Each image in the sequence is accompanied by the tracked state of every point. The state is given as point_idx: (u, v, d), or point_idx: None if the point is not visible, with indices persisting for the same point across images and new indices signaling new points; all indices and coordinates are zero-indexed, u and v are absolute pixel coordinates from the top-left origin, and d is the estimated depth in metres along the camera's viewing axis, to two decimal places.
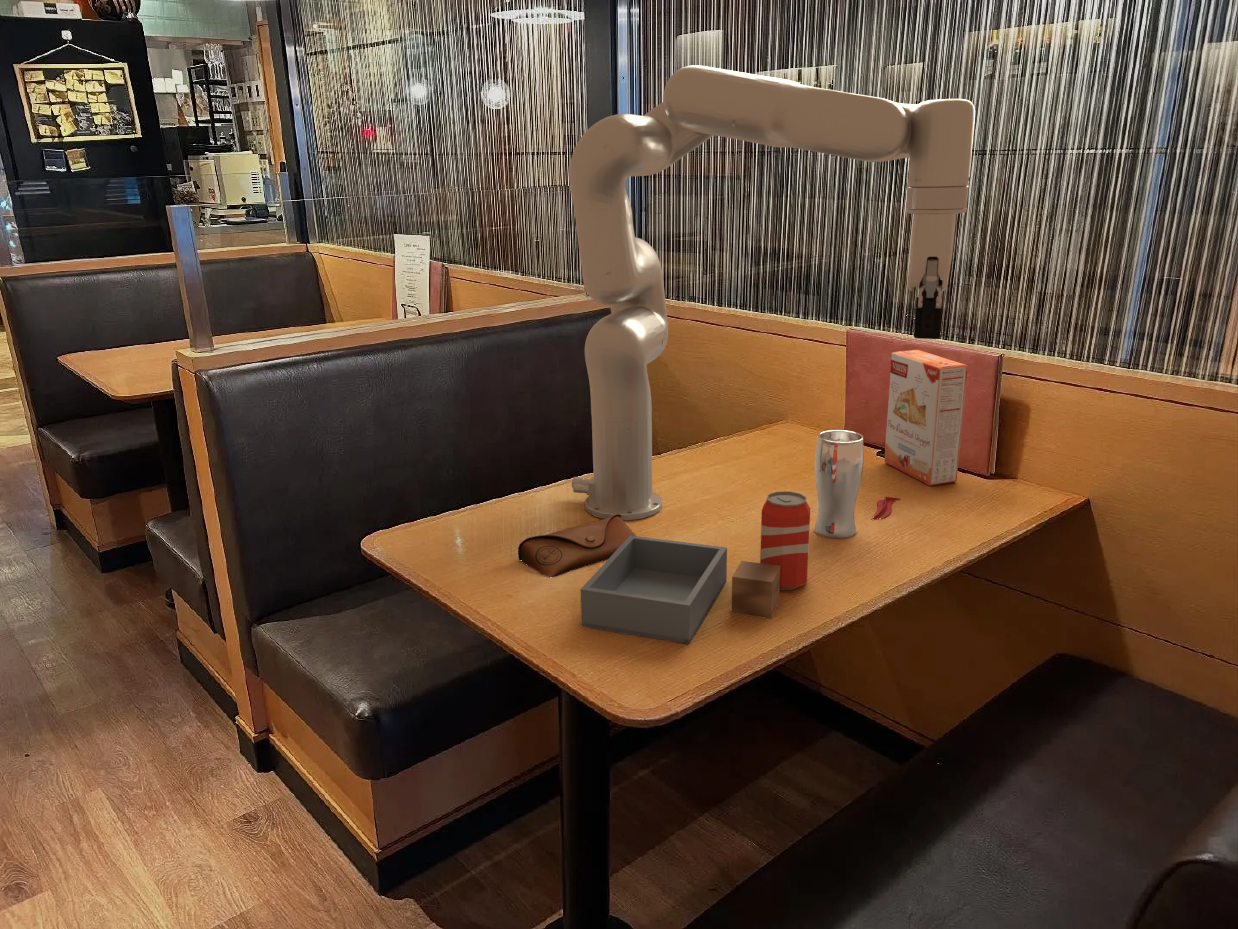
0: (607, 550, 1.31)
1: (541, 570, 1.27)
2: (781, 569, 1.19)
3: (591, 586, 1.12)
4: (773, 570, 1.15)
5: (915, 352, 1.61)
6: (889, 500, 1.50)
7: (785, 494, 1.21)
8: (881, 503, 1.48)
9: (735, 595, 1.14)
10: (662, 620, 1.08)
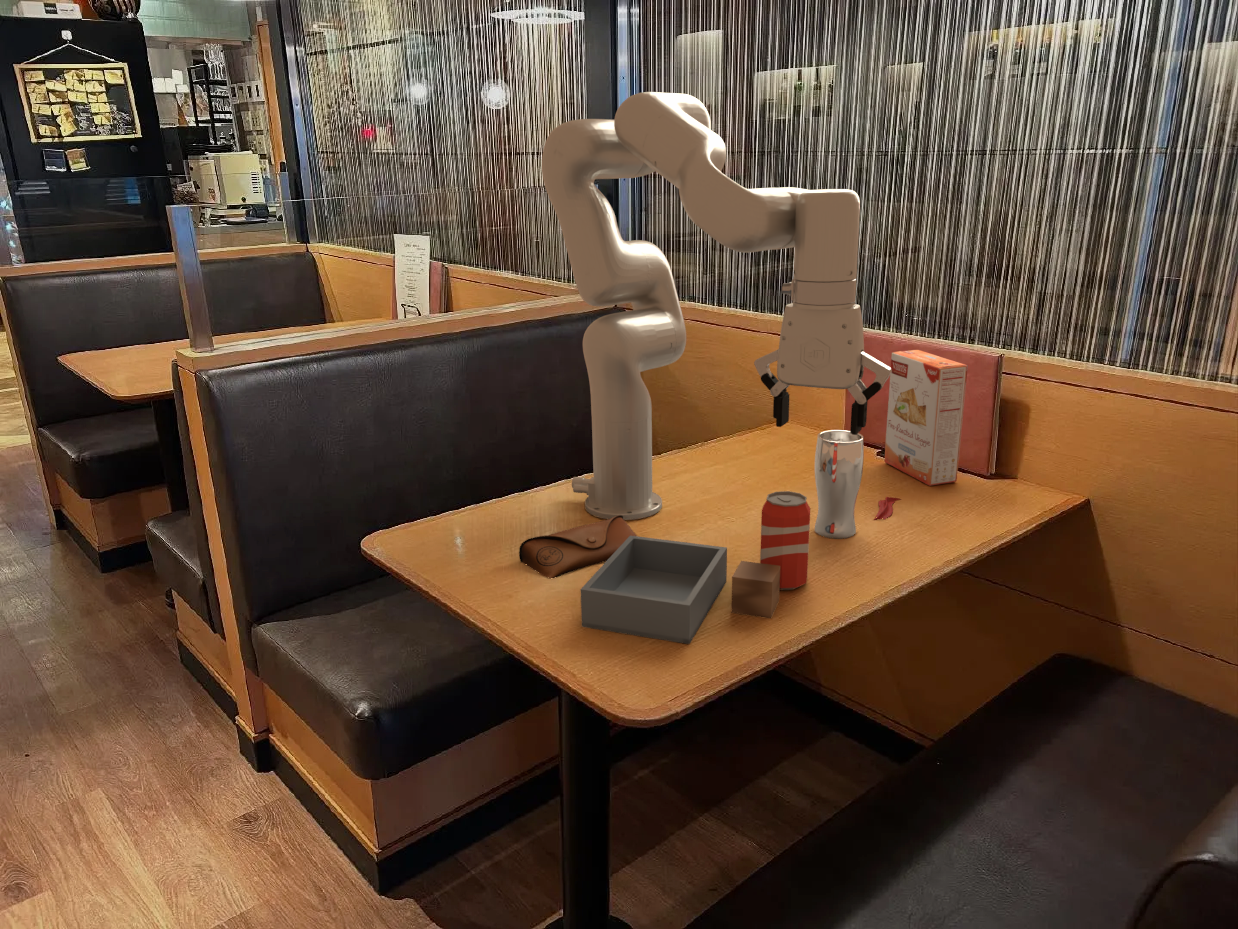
0: (608, 551, 1.30)
1: (542, 571, 1.27)
2: (781, 569, 1.19)
3: (591, 586, 1.12)
4: (773, 570, 1.15)
5: (915, 352, 1.61)
6: (890, 500, 1.50)
7: (785, 494, 1.21)
8: (883, 504, 1.48)
9: (735, 595, 1.14)
10: (662, 620, 1.08)
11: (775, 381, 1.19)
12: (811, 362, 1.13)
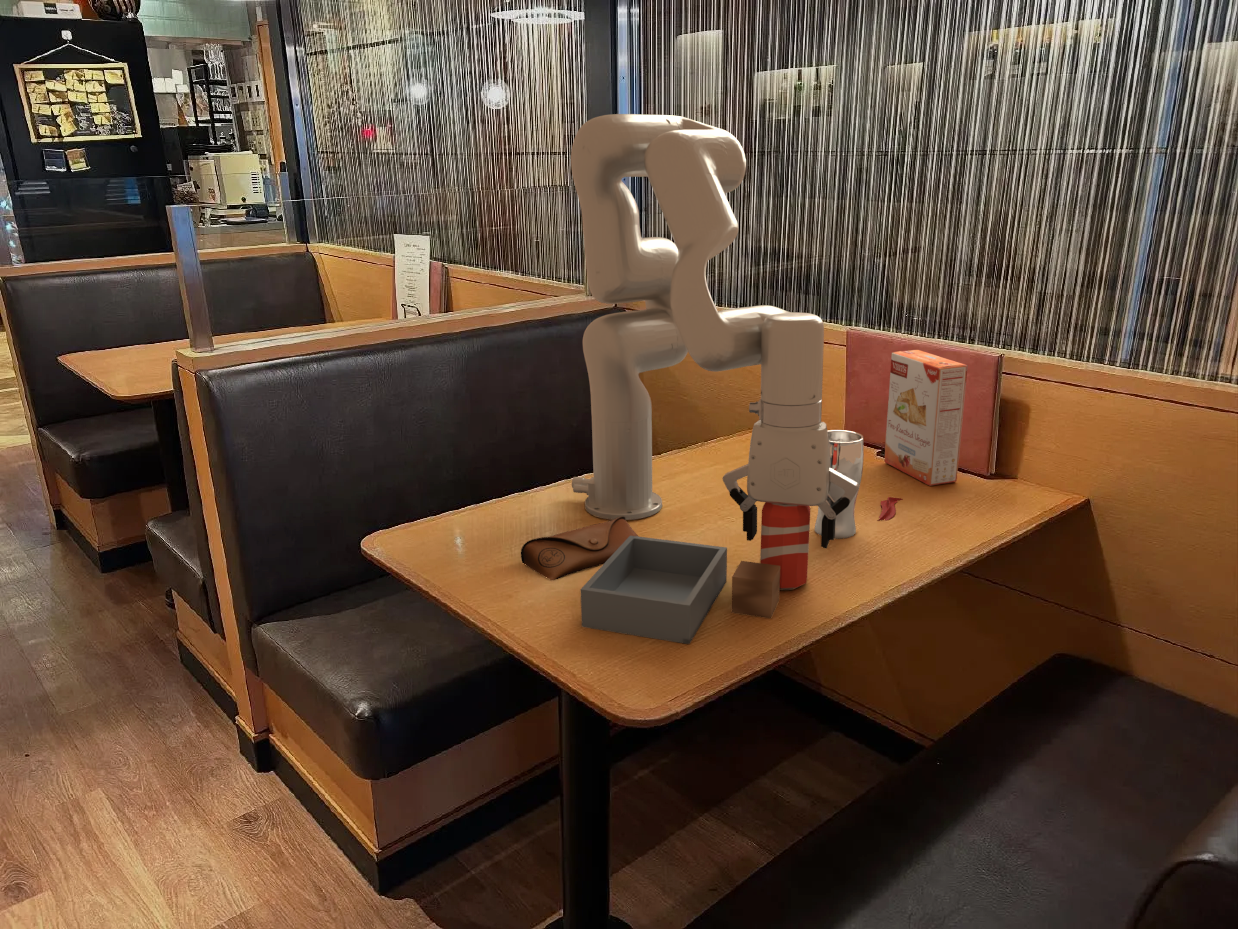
0: (610, 552, 1.30)
1: (543, 572, 1.26)
2: (781, 569, 1.19)
3: (591, 586, 1.12)
4: (773, 570, 1.15)
5: (915, 352, 1.61)
6: (891, 500, 1.50)
7: None
8: (885, 504, 1.48)
9: (735, 595, 1.14)
10: (662, 620, 1.08)
11: (744, 496, 1.20)
12: (781, 480, 1.15)
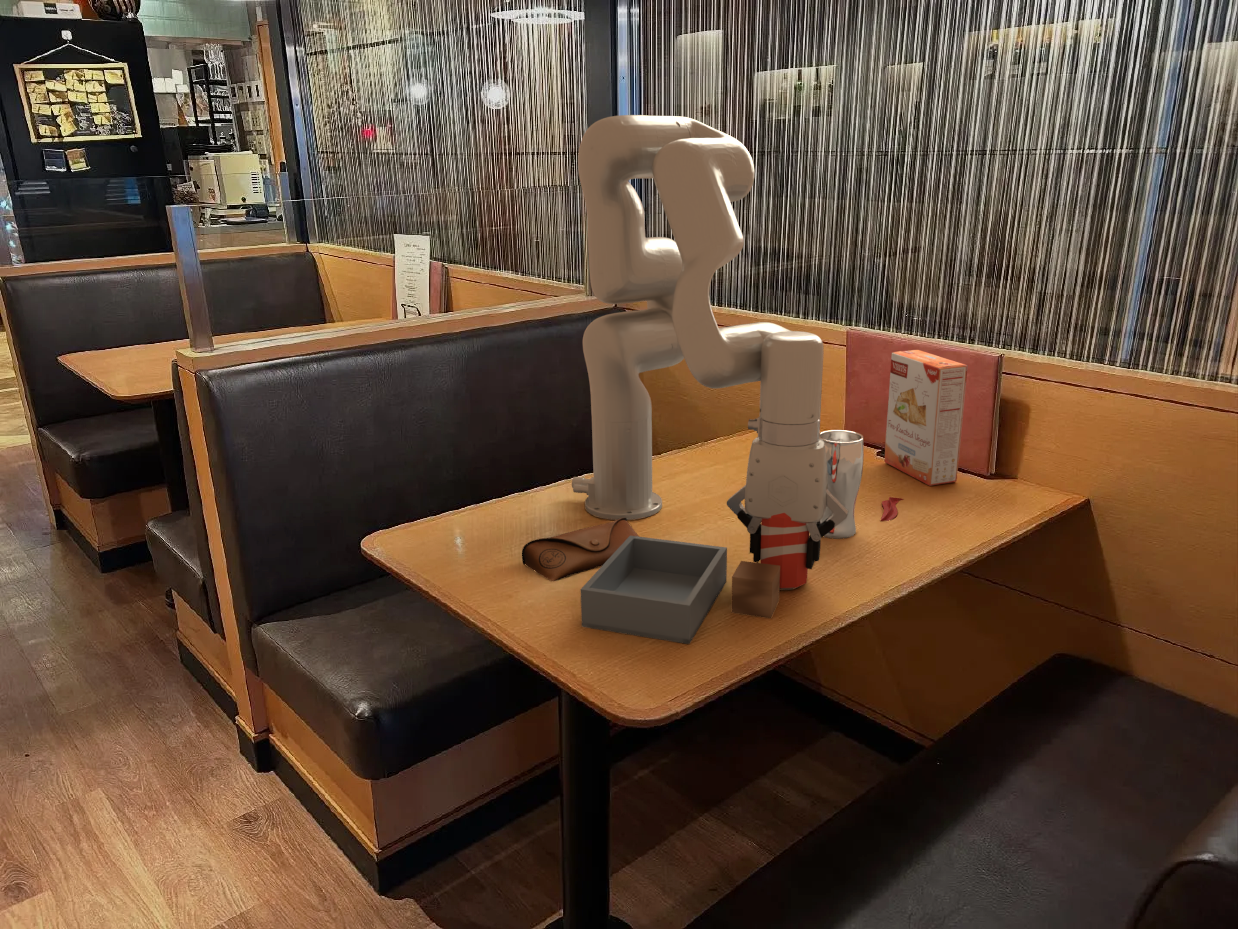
0: (611, 553, 1.30)
1: (544, 573, 1.26)
2: (782, 569, 1.19)
3: (591, 586, 1.12)
4: (773, 570, 1.15)
5: (915, 352, 1.61)
6: (892, 500, 1.50)
7: None
8: (886, 504, 1.48)
9: (735, 595, 1.14)
10: (662, 620, 1.08)
11: (751, 518, 1.21)
12: (779, 497, 1.16)
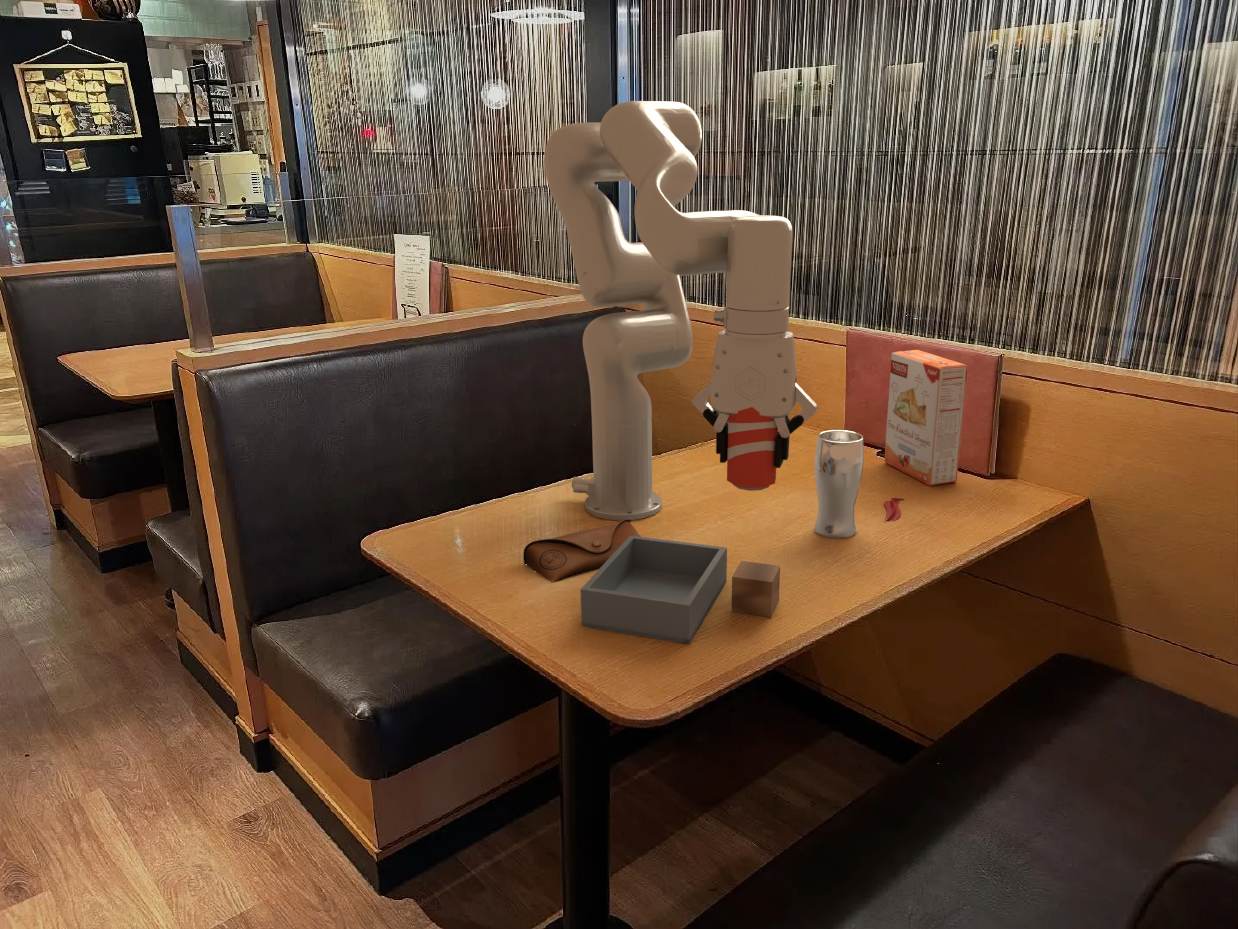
0: None
1: (544, 575, 1.26)
2: (749, 467, 1.14)
3: (591, 586, 1.12)
4: (773, 570, 1.15)
5: (915, 352, 1.61)
6: (894, 501, 1.50)
7: None
8: (889, 505, 1.48)
9: (735, 595, 1.14)
10: (662, 620, 1.08)
11: (717, 416, 1.16)
12: (746, 391, 1.12)
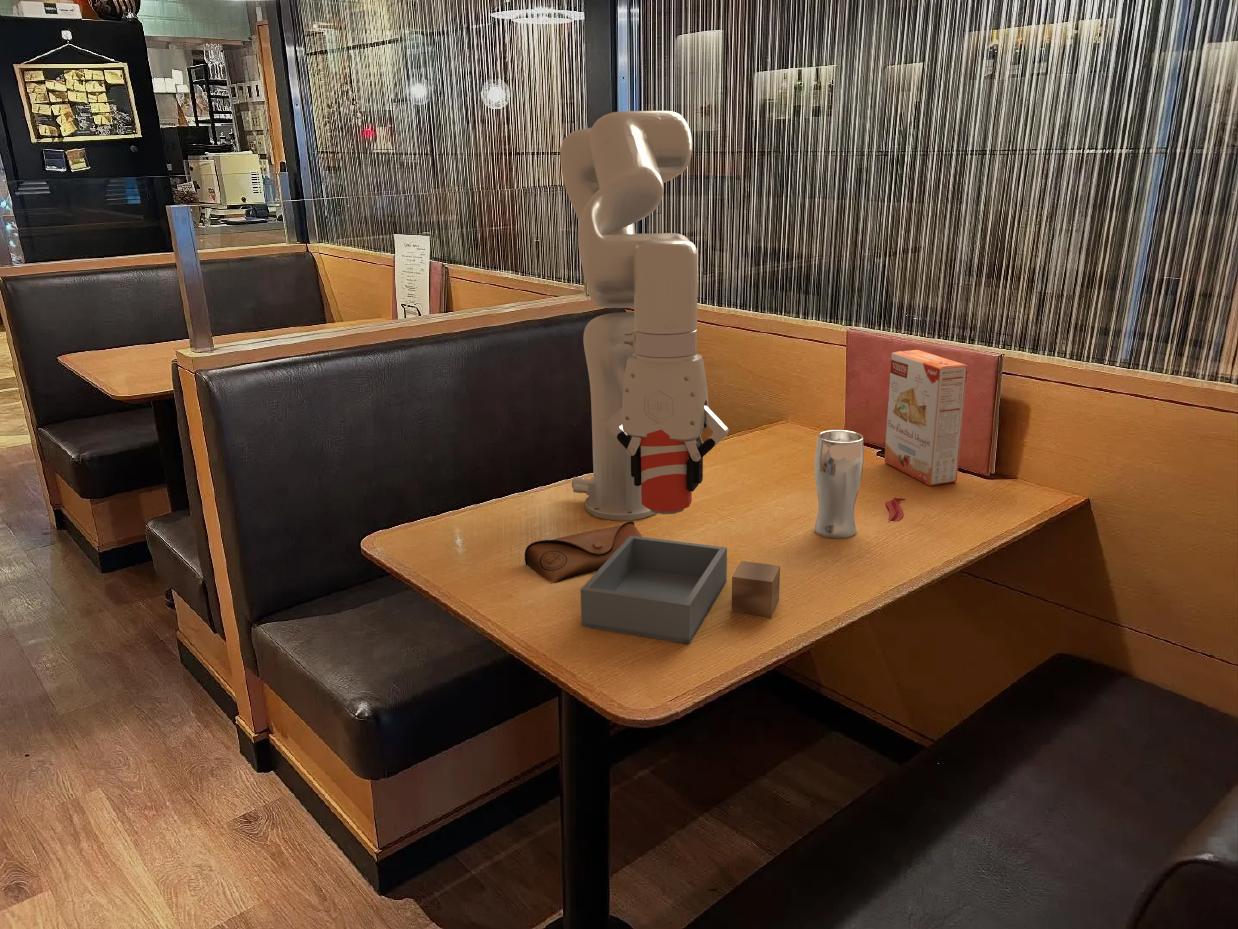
0: None
1: (544, 575, 1.25)
2: (661, 491, 1.13)
3: (591, 586, 1.12)
4: (773, 570, 1.15)
5: (915, 352, 1.61)
6: (895, 501, 1.50)
7: None
8: (890, 505, 1.48)
9: (735, 595, 1.14)
10: (662, 620, 1.08)
11: None
12: (655, 414, 1.11)
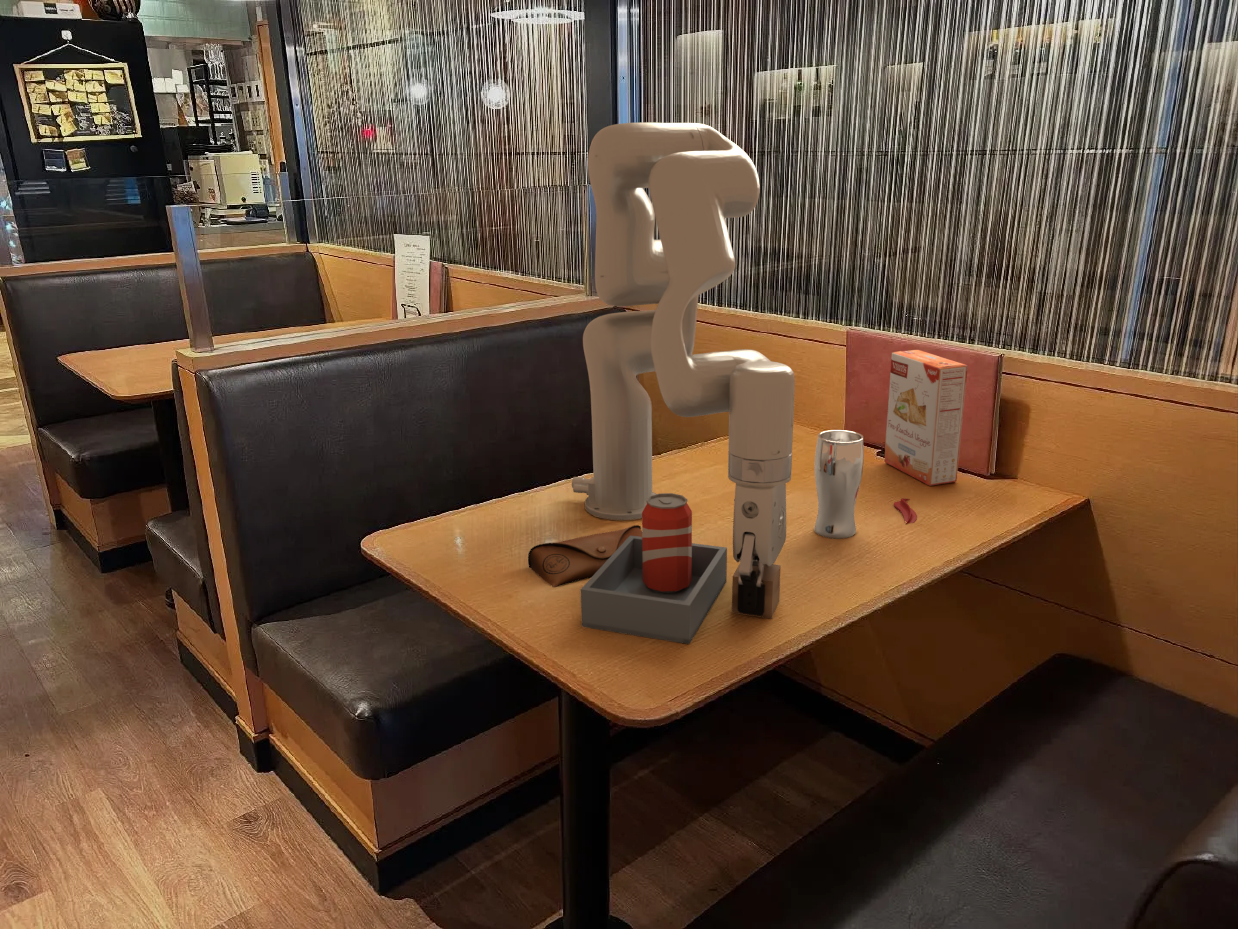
0: None
1: (546, 579, 1.24)
2: (661, 572, 1.17)
3: (591, 586, 1.12)
4: (773, 569, 1.15)
5: (915, 352, 1.61)
6: None
7: (668, 497, 1.19)
8: (900, 506, 1.47)
9: (736, 594, 1.14)
10: (662, 620, 1.08)
11: None
12: (779, 532, 1.11)
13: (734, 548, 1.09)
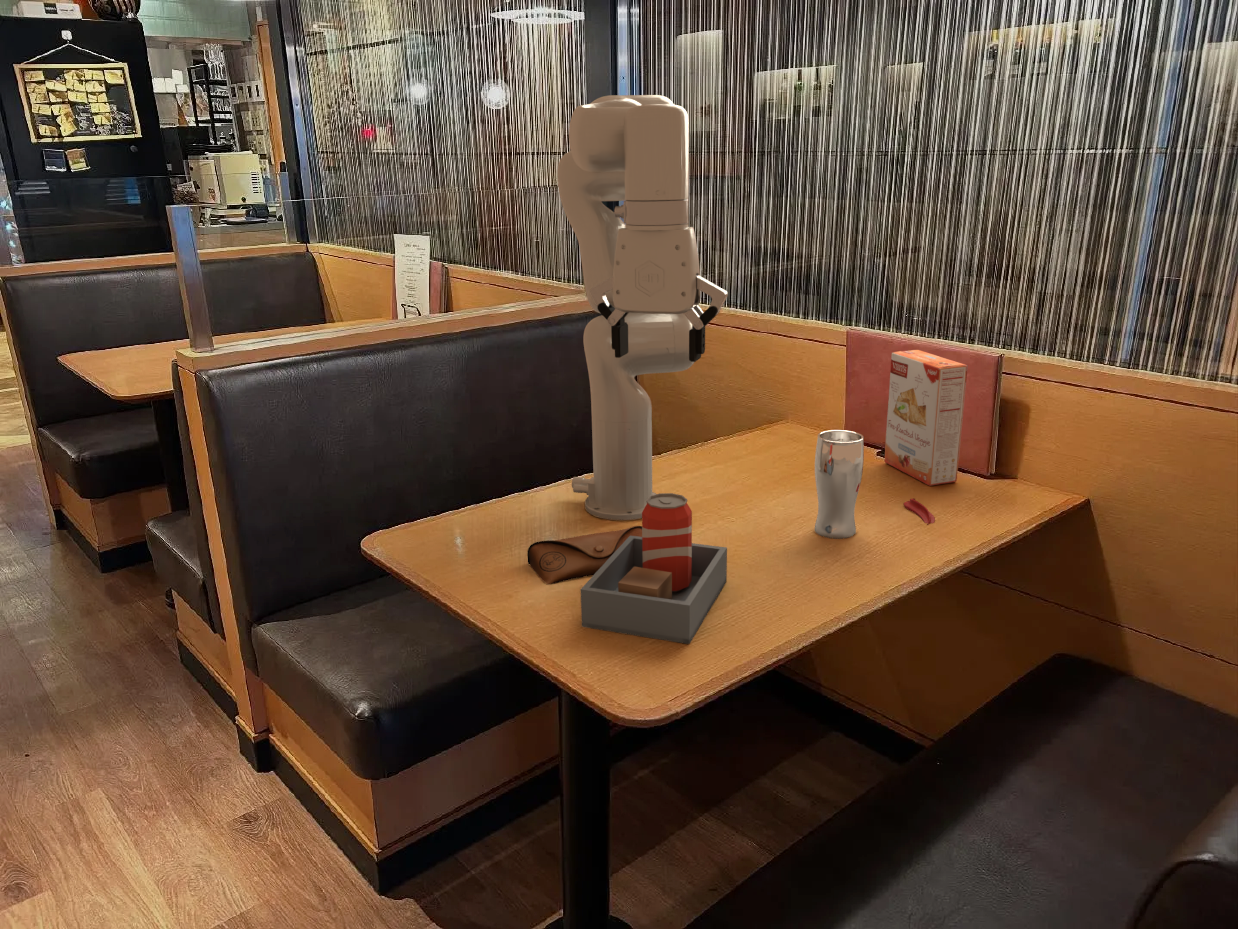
0: None
1: (542, 576, 1.25)
2: None
3: (591, 586, 1.12)
4: (645, 585, 1.10)
5: (915, 352, 1.61)
6: None
7: (668, 497, 1.19)
8: (912, 506, 1.47)
9: None
10: (662, 620, 1.08)
11: (612, 310, 1.15)
12: (646, 287, 1.10)
13: None
